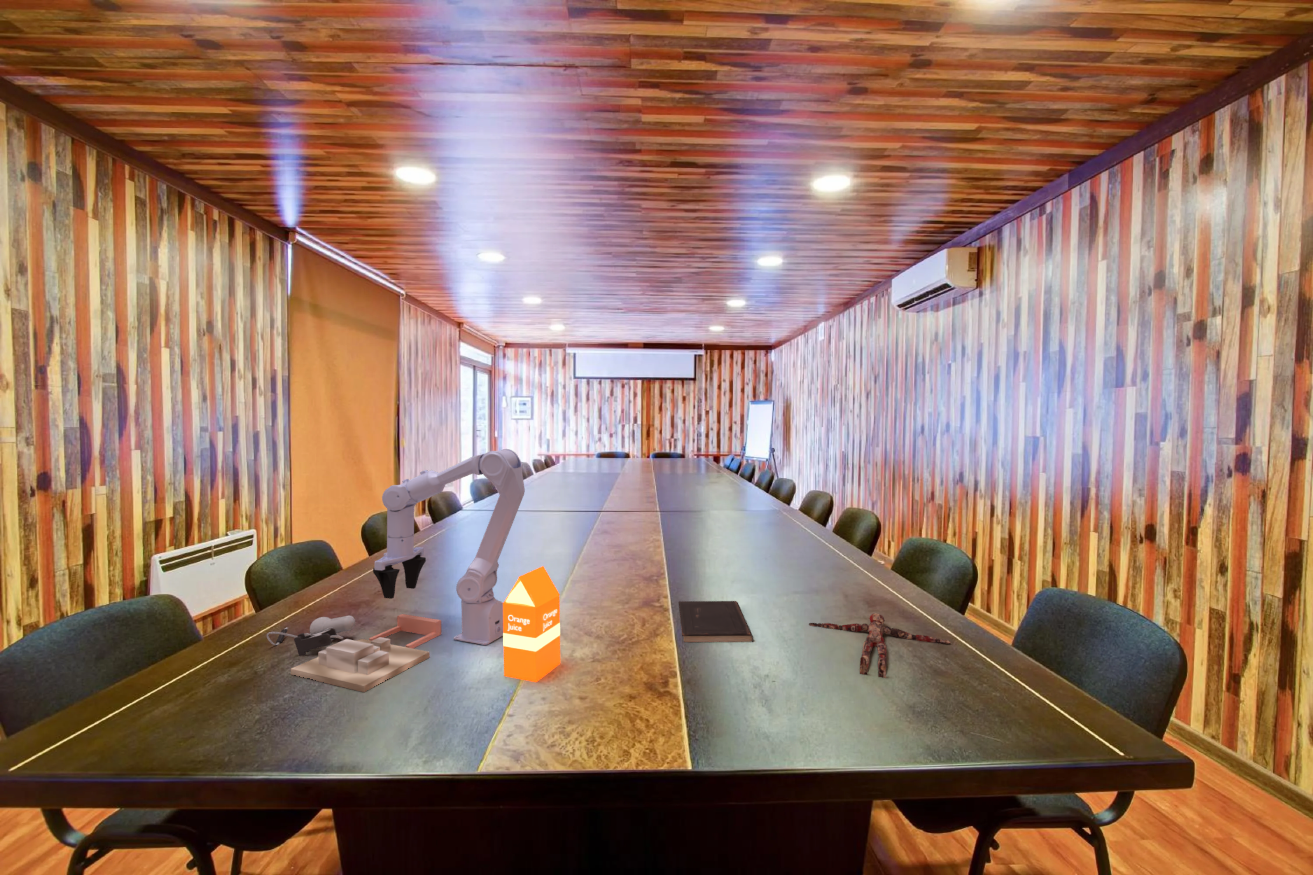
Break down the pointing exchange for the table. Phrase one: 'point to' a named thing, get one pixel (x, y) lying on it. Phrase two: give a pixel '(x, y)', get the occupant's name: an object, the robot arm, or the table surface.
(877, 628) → the mannequin
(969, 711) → the table surface
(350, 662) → the architectural building model
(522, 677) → the orange juice
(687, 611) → the hardcover book
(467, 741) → the table surface
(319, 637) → the clip-on lamp
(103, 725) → the table surface
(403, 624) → the u-shaped bracket
